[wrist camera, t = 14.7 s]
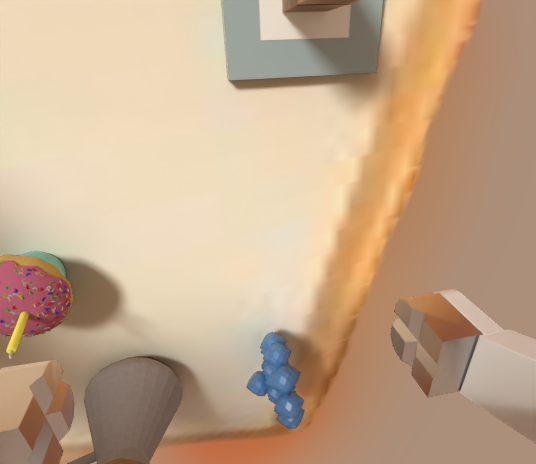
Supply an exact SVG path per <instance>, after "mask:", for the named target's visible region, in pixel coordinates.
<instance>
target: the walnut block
mask: <svg viewBox="0 0 536 464" xmlns="http://www.w3.org/2000/svg"><path fill="white" fill-rule="evenodd" d="M356 1H359V0H282V12H322V11H330V10H333V9H336V8H339V7H342V6H344V5H350V3H353V2H356Z"/></svg>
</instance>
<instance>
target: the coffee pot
mask: <svg viewBox="0 0 536 464" xmlns="http://www.w3.org/2000/svg"><path fill="white" fill-rule="evenodd" d="M181 398H182V387H181V383H180V382H179V380H178V378H177V376H176V374H175V373H174V372H173V371H172V370H171V369H170V368H169V367H168V366H166V365H164V364H162V363H160V362H158V361H156V360H154V359H150V358H147V357H133V358H128V359H124V360H121V361H118V362H115V363H112V364H111V365H109V366H107V367H105V368H104V369H102V370H101V371H100V372H99V373H98V374H97V375H96V376H95V377H94V378H93V379H92V380H91V381H90V383H89V385H88V387H87V389H86V391H85V398H84V403H85V408H86V413H87V418H88V422H89V427H90V432H91V437H92V441H93V446H94V452H92V453H89V454H87V455H85V456H83V457H81V458H78V459H76V460H74V461H72V462H70V463H67V464H90V463H93V462H95V461H97V464H149V462H150V460H151V457H152V456H153V454H154V452H155V450H156V448H157V446H158V444H159V443H160V441H161V439H162V437H163V435H164V433H165V431H166V429H167V427H168V425H169V424H170V422H171V420H172V418H173V416H174V414H175V412H176V410H177V408H178V407H179V405H180V401H181Z"/></svg>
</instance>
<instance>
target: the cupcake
mask: <svg viewBox="0 0 536 464" xmlns="http://www.w3.org/2000/svg"><path fill="white" fill-rule="evenodd" d="M72 304H73V294H72V289H71V284H70V282H69V281H68V280H67V279H66V271H65V268H64V266H63V264H62V263H61V261H60V260H59V259H57V258H56V257H54V256H53V255H51V254H48V253H45V252H38V251H35V252H28V253H25V254H23V255H3V256H0V334H3V335H4V334H5V335H4V336H10V335H11V336H12V337H11V339H10V342H9V344H8V347H7V350H6V352H7V353H9V359H12V355H13V353H15V352H16V350H17V347H18V345H19V342H20V339H21V338H22V337H23V336H28V337H31V336H35V335H38V334H41V333H42V334H44V333H45V332H46V331H47V332H48V331H51V329H53V328H55V327H56V326H57V325H59V324H60V323H61V322H62V321H63V319H64V318H65V317H66V316H67V314H68V312H69V310H70V308H71V306H72Z"/></svg>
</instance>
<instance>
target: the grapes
mask: <svg viewBox="0 0 536 464" xmlns="http://www.w3.org/2000/svg"><path fill="white" fill-rule="evenodd" d="M285 343H286V340H285V339H284V338H282V337H281V336H280V335H278V334H276V333H273V332H271V333H269V334H267V335H266V337H265V338H264V340H263V342H262V344H261V346H260V348H261V349H262V351H261V353H262V354H263V355H264V357H263V359H264V361H263V363H262V365H261V366H262V369H263V371H262V372H261V371H257V372H255V373H254V374H253V375H252V377H251V378H250V380H249V382H248V385H247V388H248V389H249V390H250V391H251V392H253V393H254V394H256V395H257V396H265V395H266V394H267V393H268V397H269V400H270V401H271V402H273V403H275V404H276V405H275V408H274V409H275V410H274V411H275V412H276V413H277V414H278V416H277V418H276V419H277V420H278V421H279V422H280V423H281V424H283V425H284V426H286V427H287V428H289V429H293V428H296V427H297V426H298V425H299V423H300V422H301V420H302V417H303V414H304V410H303V409H302V405H303V402H304V400H303V399H302V398H301V397H300V396H298V395H297V394H296V391H295V390H294V389H295V387H296V386H295V384H296V382H297V380H298V378H299V375H300V372H299V371H298V370H297V369H295V368H294V367H293V366H291V365H290V364H288V363H289V362H287V360H288V358H289V356H290V353H291V351H290V350H289V349H288V348H286V347H285Z"/></svg>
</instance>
